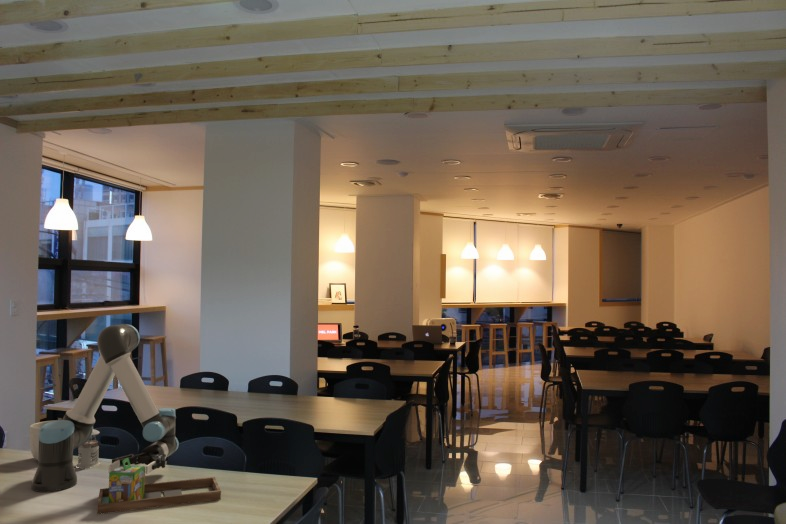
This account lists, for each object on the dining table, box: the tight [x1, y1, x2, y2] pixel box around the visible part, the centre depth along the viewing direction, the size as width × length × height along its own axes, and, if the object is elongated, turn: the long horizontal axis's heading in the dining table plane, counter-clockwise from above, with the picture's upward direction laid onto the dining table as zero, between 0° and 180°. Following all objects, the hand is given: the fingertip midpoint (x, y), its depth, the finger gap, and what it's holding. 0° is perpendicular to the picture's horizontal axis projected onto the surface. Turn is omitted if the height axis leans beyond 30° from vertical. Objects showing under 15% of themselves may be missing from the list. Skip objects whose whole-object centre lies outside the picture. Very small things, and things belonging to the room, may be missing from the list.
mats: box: [144, 489, 183, 499], centre depth 216 cm, size 14×13×1 cm
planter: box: [29, 419, 59, 461], centre depth 265 cm, size 17×17×15 cm
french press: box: [75, 428, 101, 469], centre depth 257 cm, size 10×12×25 cm
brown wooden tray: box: [96, 476, 222, 515], centre depth 216 cm, size 18×40×3 cm, turn 113°
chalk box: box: [108, 458, 146, 503], centre depth 211 cm, size 9×9×15 cm
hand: (128, 469), depth 215 cm, fingers open, 13 cm apart
